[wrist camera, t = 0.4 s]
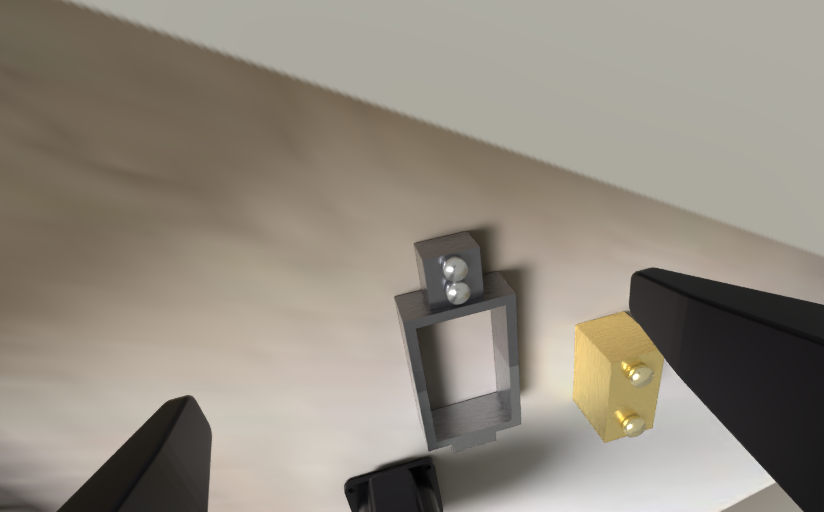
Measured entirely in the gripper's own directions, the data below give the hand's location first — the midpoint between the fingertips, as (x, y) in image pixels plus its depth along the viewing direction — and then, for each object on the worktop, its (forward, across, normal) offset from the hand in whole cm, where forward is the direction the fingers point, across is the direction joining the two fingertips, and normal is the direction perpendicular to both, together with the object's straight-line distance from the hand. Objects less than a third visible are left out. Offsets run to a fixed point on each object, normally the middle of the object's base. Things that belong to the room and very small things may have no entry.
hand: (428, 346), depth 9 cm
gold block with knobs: (+14, -13, +17) cm, 26 cm away
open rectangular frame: (+14, -3, +13) cm, 19 cm away
